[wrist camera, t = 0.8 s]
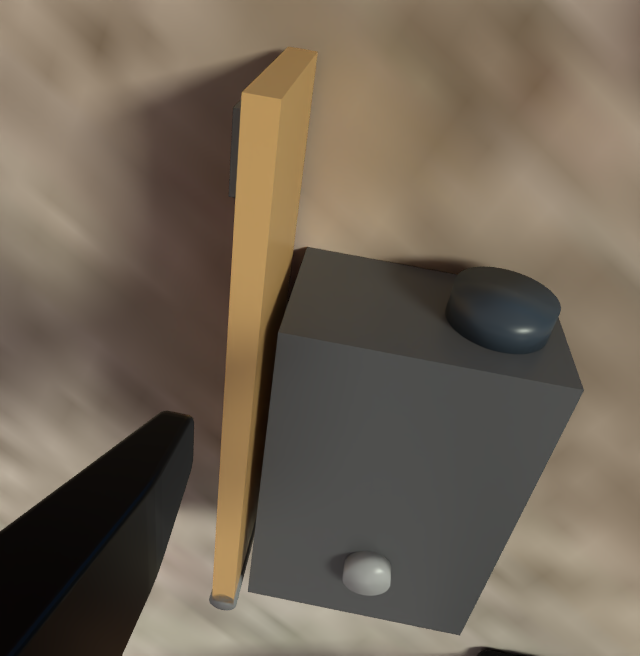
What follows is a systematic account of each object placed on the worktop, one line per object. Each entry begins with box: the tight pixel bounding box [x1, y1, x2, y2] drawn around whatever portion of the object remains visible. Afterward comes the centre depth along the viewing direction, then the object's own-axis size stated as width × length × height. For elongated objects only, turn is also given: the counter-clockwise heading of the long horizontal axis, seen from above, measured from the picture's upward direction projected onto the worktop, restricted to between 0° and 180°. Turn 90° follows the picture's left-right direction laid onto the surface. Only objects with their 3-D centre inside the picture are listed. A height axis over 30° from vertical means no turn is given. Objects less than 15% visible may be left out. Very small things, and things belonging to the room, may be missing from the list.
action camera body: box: [248, 247, 584, 635], centre depth 21 cm, size 13×8×6 cm, turn 172°
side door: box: [209, 47, 318, 610], centre depth 19 cm, size 18×1×5 cm, turn 172°
